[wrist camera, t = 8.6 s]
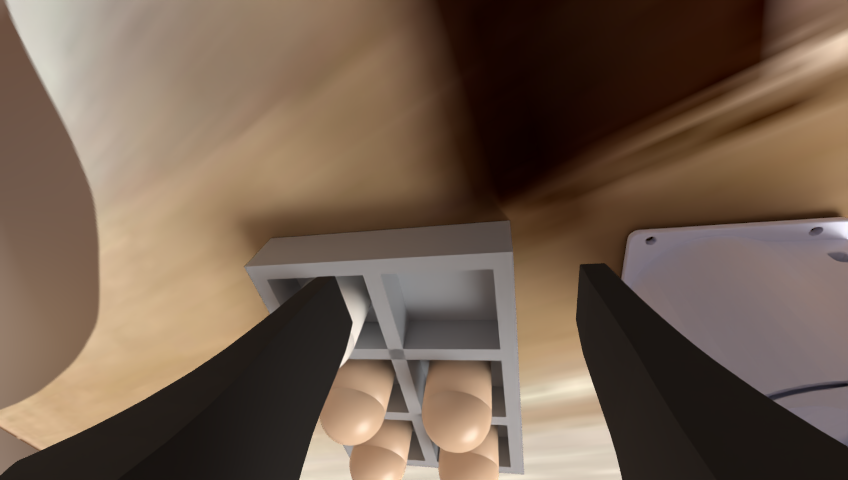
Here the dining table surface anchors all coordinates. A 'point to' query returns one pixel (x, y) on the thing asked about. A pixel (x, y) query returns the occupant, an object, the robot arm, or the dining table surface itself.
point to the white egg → (353, 305)
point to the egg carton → (418, 346)
